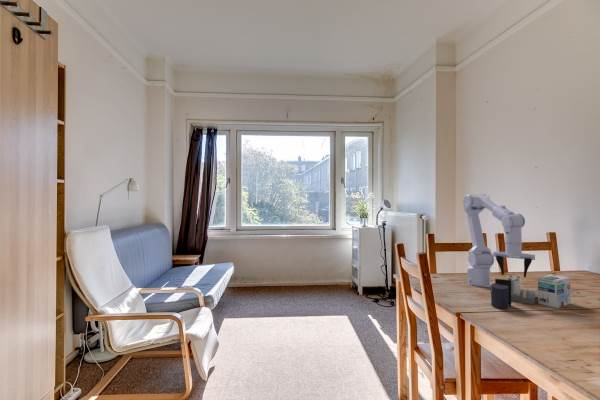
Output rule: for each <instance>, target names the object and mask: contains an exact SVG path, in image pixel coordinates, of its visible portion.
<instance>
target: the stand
mask: <svg viewBox="0 0 600 400" xmlns="http://www.w3.org/2000/svg"><path fill="white" fill-rule="evenodd" d="M523 289H524V290H521V294H520V296H517V295H511V302H516V303H517V302H519V303H525V304H532V305H536V304H535V303H536V301H535V300H536V296H535V292H534V291H535V290H533V291H527V290H528V287H524V288H523Z"/></svg>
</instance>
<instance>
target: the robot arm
mask: <svg viewBox="0 0 600 400" xmlns="http://www.w3.org/2000/svg"><path fill="white" fill-rule="evenodd" d="M462 204H463V208H464V212H465V214H466V220H467V224H468V228H469V234H470V235H469V236H470V240H471V243H472V247H471V248H470V249H469V250H468V251H467V252H468V258H467V259H468V263H469V264H470V265H469V266H468V265H467V273H466V274H467V286H476V287H481V288H482V287H484V288H491V285H492V284H493V283H491V268H492V266H493V265H494V264H495V260H496V262H497V264H498V265H499V269H500V272H501V276H503V275H505V268H504V267H505V266H504V264H505V263H504V262H505V261H504V259H505V258H506V259H507V258H508V259H519V260H520V259H521V260H523V264H524V265H523V277H524V278H526V277H527V273H528V270H529V268H530V266H531V263H532V261H535V260H536V254H530V253H523V252H522V251H523V250H522V247H523V246H522V245H523V243H522V241H523V240H522V238H523V237H522V228H523V227H524V226H525V225H526V220H525V217H524V215H523V214H522V213H514V212H513V210H510V209H508V208H507V207H506V206H505V205H498V204H497V203H496V202H494V201H493V200H492V199H490V196H489V195H487V194H486V193H483V194H481V193H479V194H469V193H468V194H465V195H464V197H463V200H462ZM485 209H487V210H488V211H490V212H491V213H492V216H493V217H494V218H496V219H497V220H499V221H500V222H501V225H502V227H503V231H504V237H505V239H504V245H505V246H504V247H505V248H504V249H505V251H493V252H492V249H490V248H488V247H487V246H486V243H485V239H484V234H483V230H482V224H481V222H480V221H481V220H480V216H479V215H480V213H482V212H483V211H484V210H485Z"/></svg>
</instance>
